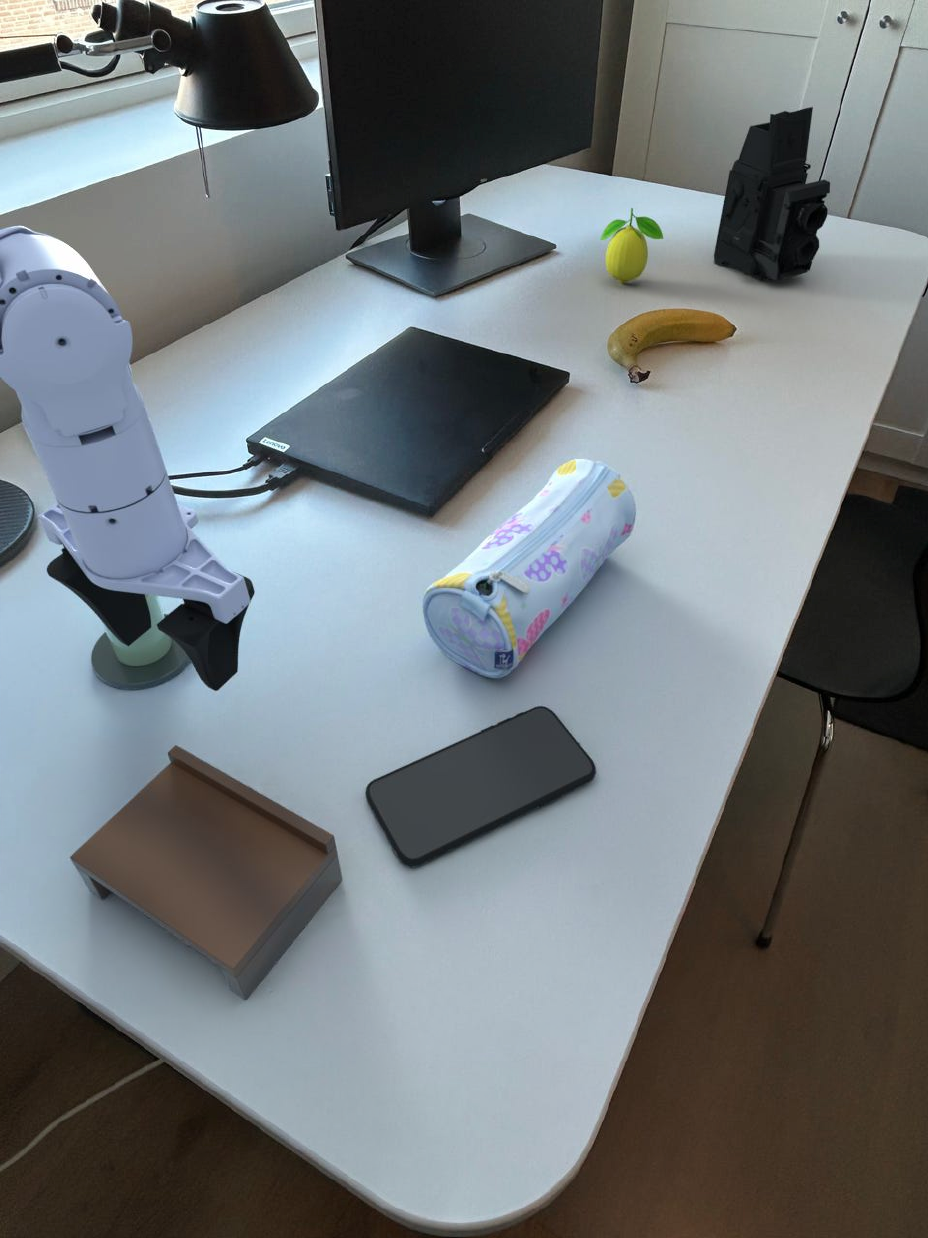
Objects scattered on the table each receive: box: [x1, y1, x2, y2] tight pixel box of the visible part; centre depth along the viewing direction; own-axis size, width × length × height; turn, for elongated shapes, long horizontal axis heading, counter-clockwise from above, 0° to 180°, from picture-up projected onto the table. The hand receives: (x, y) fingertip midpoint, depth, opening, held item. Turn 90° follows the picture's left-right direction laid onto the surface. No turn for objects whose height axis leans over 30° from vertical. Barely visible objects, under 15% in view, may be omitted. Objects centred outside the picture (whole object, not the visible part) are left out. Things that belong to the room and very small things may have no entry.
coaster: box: [90, 612, 191, 690], centre depth 70 cm, size 8×8×1 cm
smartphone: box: [365, 705, 597, 868], centre depth 60 cm, size 7×1×15 cm
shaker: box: [101, 594, 172, 666], centre depth 67 cm, size 4×4×7 cm
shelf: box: [69, 744, 343, 1001], centre depth 53 cm, size 9×13×5 cm
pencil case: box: [422, 458, 637, 679], centre depth 70 cm, size 21×9×10 cm, turn 144°
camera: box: [713, 106, 831, 282], centre depth 116 cm, size 10×14×20 cm
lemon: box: [599, 207, 664, 285], centre depth 117 cm, size 7×6×10 cm
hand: (178, 656), depth 56 cm, fingers open, 7 cm apart
